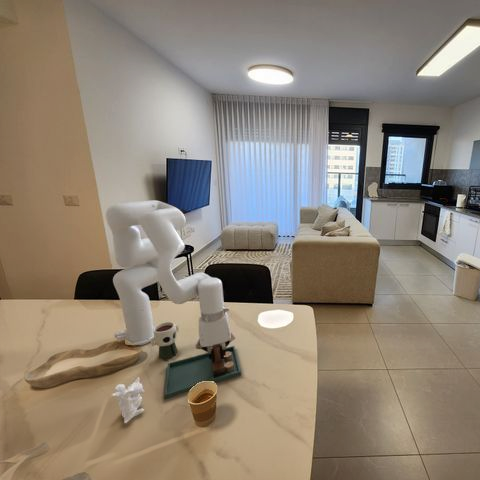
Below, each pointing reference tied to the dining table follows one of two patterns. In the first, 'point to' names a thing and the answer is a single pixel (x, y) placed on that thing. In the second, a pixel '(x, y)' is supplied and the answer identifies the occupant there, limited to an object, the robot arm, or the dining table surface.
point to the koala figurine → (129, 399)
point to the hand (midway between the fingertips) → (217, 358)
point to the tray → (195, 373)
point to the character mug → (165, 339)
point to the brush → (218, 361)
